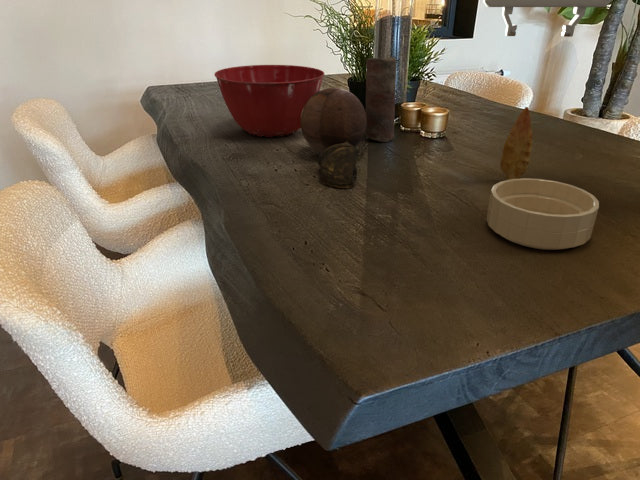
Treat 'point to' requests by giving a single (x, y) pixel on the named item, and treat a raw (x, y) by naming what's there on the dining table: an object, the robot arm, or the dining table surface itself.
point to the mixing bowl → (268, 96)
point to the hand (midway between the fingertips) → (538, 36)
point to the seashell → (338, 165)
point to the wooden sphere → (333, 119)
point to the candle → (380, 98)
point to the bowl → (542, 213)
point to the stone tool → (518, 147)
